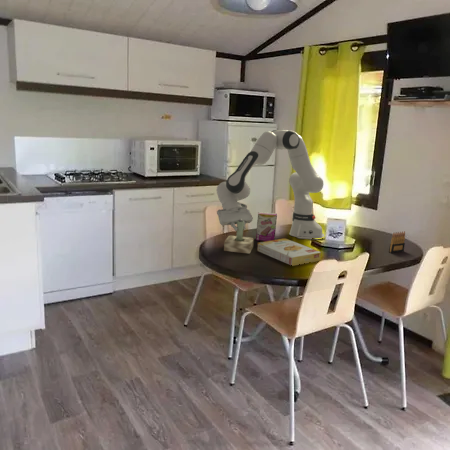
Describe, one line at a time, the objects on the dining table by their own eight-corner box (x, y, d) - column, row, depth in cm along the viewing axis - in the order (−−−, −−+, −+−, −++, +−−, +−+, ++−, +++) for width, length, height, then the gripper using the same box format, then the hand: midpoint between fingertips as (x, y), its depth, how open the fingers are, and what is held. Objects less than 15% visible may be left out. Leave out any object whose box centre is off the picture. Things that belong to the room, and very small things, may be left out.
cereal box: (284, 237, 252) (322, 250, 229) (284, 247, 253) (321, 261, 231) (257, 242, 240) (293, 256, 218) (256, 252, 241) (292, 267, 219)
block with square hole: (253, 246, 249) (253, 238, 248) (249, 253, 235) (250, 244, 234) (228, 243, 251) (229, 235, 250) (223, 250, 238) (224, 241, 237)
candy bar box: (255, 240, 261) (257, 213, 257) (255, 238, 266) (258, 211, 262) (274, 242, 260) (277, 214, 257) (274, 240, 265) (277, 213, 261)
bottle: (242, 241, 244) (244, 219, 241) (241, 242, 240) (243, 221, 238) (236, 240, 244) (238, 219, 242) (235, 241, 241) (237, 220, 238)
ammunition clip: (391, 253, 252) (394, 232, 250) (388, 252, 254) (391, 231, 251) (403, 251, 258) (407, 231, 255) (401, 250, 259) (404, 230, 257)
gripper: (218, 206, 238) (227, 228, 232) (248, 204, 249) (258, 225, 244) (213, 213, 242) (222, 234, 237) (243, 210, 254) (252, 231, 248)
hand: (240, 230), depth 240 cm, fingers closed on bottle, 3 cm apart
